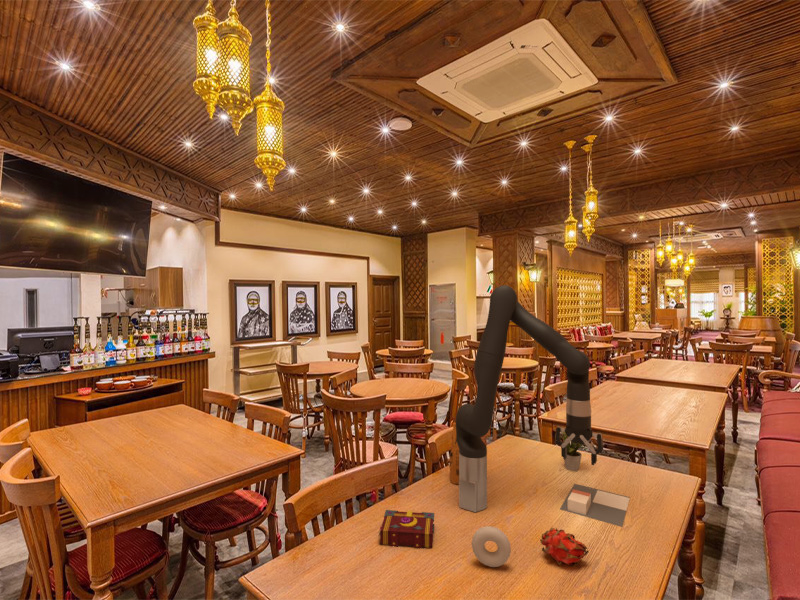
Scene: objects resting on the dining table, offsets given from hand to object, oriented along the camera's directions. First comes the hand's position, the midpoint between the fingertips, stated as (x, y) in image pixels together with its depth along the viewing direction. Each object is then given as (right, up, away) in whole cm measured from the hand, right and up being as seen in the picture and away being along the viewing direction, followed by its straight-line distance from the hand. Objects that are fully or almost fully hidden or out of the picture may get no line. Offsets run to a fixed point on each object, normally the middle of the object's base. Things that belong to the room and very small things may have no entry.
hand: (578, 461), depth 133 cm
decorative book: (-57, -16, -14) cm, 61 cm away
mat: (+7, -16, +2) cm, 17 cm away
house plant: (+11, -16, +30) cm, 35 cm away
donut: (-35, -16, -28) cm, 48 cm away
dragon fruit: (-16, -16, -26) cm, 34 cm away
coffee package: (-34, -16, +21) cm, 43 cm away
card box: (0, -15, 0) cm, 15 cm away
